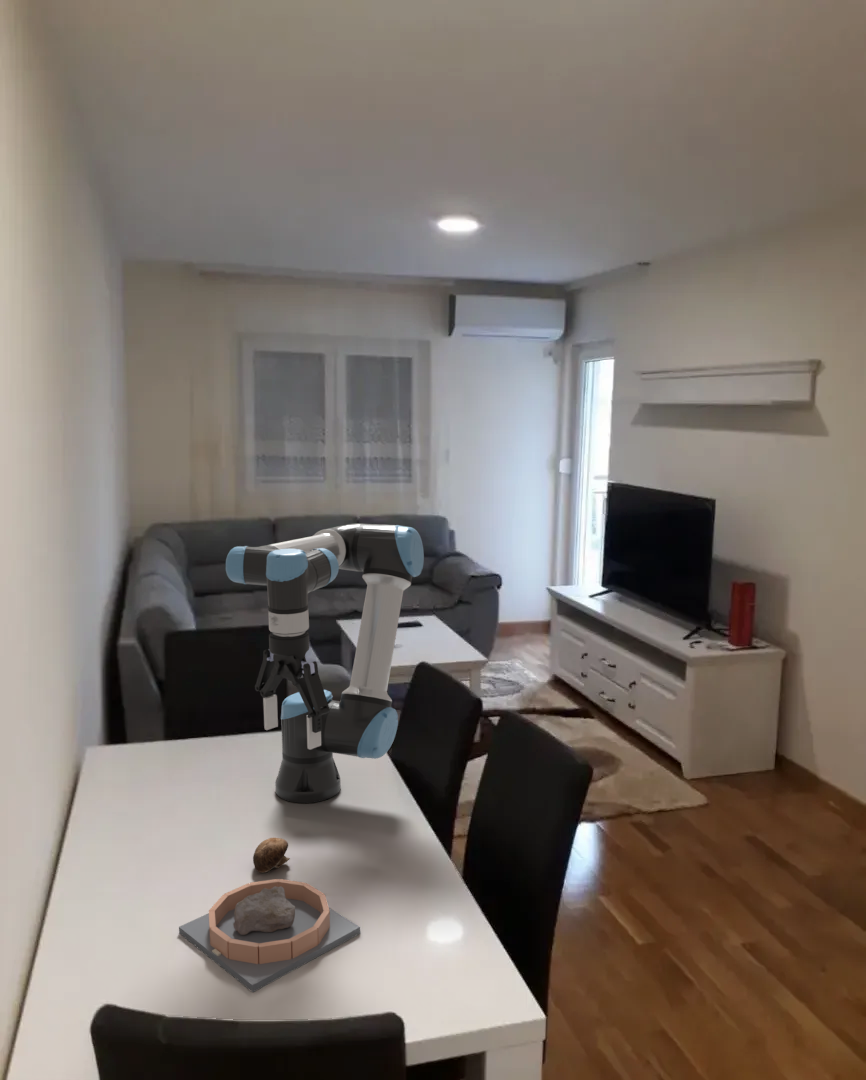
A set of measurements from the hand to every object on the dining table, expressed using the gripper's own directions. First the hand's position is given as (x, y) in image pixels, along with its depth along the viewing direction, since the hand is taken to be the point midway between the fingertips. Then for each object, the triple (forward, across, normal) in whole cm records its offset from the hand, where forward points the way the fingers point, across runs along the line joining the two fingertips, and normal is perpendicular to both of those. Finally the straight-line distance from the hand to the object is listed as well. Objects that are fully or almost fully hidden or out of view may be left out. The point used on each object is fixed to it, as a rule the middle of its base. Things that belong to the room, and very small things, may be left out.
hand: (292, 737), depth 176 cm
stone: (+24, +15, -19) cm, 34 cm away
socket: (+25, +16, -18) cm, 35 cm away
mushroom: (+26, -2, -5) cm, 27 cm away
